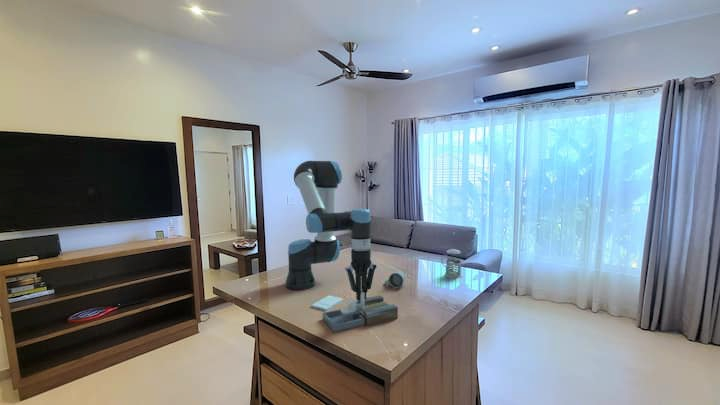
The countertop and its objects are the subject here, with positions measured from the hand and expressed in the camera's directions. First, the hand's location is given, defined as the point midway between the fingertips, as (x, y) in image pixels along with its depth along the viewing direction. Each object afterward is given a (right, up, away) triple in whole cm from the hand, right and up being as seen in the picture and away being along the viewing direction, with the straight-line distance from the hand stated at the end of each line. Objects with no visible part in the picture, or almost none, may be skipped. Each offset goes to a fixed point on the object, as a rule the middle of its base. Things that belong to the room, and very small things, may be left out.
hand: (361, 307), depth 116 cm
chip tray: (-7, -4, -3) cm, 9 cm away
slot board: (+5, -4, +3) cm, 7 cm away
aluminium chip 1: (-4, -2, -2) cm, 5 cm away
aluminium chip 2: (-2, -1, -1) cm, 3 cm away
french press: (+52, 0, +52) cm, 73 cm away
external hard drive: (-15, -4, +14) cm, 21 cm away
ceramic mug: (+18, -2, +37) cm, 41 cm away
